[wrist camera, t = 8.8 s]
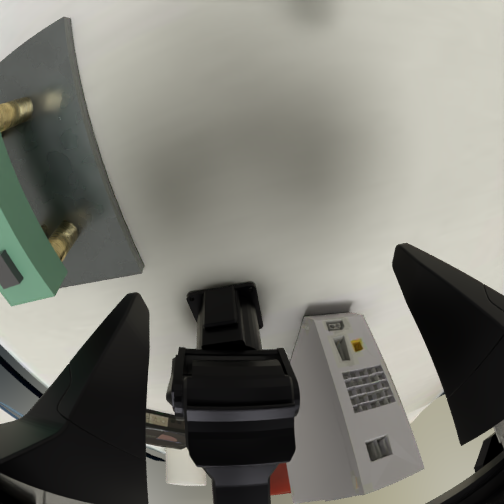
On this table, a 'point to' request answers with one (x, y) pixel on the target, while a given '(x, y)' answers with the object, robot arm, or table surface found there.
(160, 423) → the portable cd player
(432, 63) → the table surface
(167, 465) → the cup
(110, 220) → the chassis plate
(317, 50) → the table surface
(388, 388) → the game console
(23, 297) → the circuit board
